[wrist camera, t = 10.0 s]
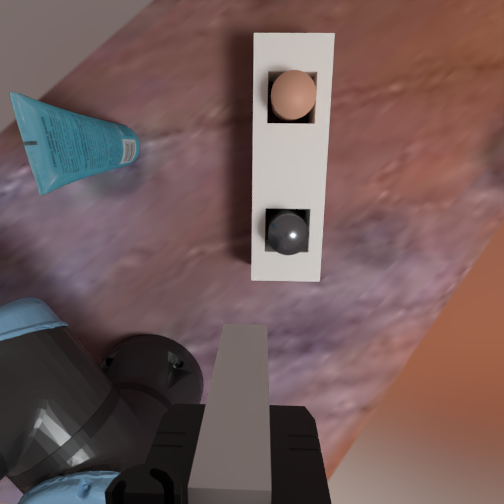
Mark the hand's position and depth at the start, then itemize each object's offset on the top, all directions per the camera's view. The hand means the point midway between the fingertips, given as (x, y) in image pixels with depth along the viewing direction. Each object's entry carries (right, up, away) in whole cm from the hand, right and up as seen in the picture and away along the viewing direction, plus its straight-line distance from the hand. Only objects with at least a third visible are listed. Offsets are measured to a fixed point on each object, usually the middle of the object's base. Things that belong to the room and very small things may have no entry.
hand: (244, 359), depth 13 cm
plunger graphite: (+4, +7, +34) cm, 35 cm away
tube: (-16, +17, +33) cm, 41 cm away
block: (+4, +15, +33) cm, 37 cm away
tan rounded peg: (+4, +21, +30) cm, 37 cm away
